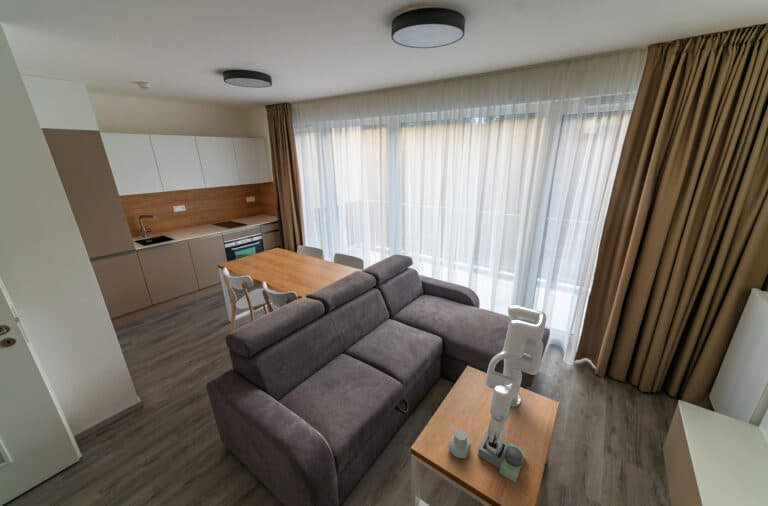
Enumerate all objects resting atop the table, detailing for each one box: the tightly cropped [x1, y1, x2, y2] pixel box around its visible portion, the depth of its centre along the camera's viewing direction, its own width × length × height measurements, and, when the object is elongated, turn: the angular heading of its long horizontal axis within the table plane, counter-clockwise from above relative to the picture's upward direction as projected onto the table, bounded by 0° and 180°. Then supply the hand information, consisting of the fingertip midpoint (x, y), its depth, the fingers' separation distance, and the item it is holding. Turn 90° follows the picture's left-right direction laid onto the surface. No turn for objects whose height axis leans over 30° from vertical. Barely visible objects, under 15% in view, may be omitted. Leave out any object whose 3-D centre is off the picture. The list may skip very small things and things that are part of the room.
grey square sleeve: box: [477, 432, 526, 484], centre depth 132 cm, size 14×17×7 cm
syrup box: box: [484, 426, 506, 458], centre depth 132 cm, size 6×6×14 cm
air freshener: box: [448, 429, 472, 459], centre depth 135 cm, size 11×8×10 cm
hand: (494, 440), depth 132 cm, fingers closed on syrup box, 6 cm apart
